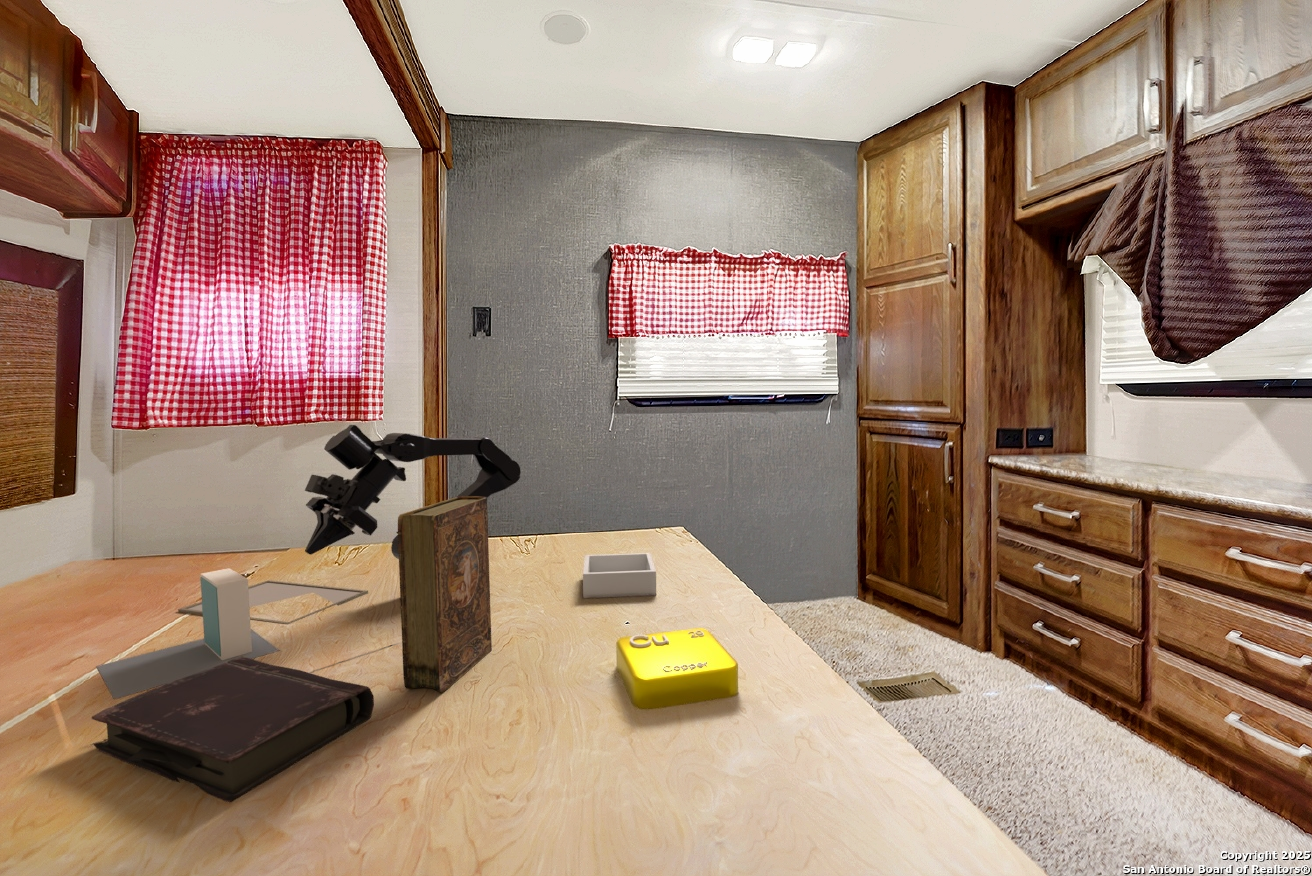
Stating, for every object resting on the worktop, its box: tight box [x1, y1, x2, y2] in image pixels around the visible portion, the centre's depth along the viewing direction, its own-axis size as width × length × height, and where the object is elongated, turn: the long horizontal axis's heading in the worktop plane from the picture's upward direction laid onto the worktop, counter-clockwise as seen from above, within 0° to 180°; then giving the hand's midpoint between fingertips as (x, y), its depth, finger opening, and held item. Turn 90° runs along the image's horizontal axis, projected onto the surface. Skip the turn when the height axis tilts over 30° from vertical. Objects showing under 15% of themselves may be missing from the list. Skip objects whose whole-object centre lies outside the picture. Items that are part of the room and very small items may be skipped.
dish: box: [582, 552, 657, 599], centre depth 128 cm, size 15×15×5 cm
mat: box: [96, 628, 281, 700], centre depth 93 cm, size 20×16×1 cm
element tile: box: [615, 627, 739, 710], centre depth 85 cm, size 15×15×5 cm
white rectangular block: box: [199, 567, 252, 660], centre depth 96 cm, size 4×10×12 cm, turn 50°
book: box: [397, 496, 493, 693], centre depth 88 cm, size 16×6×25 cm, turn 168°
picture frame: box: [177, 579, 369, 625], centre depth 120 cm, size 19×1×28 cm
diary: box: [91, 656, 375, 804], centre depth 72 cm, size 19×25×5 cm
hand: (307, 553), depth 106 cm, fingers closed
